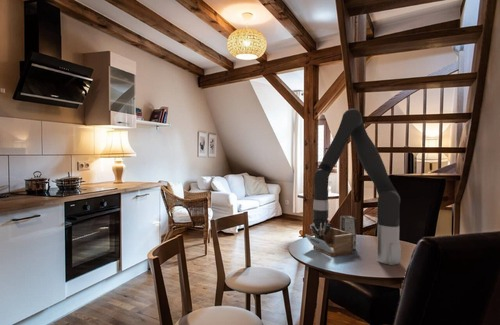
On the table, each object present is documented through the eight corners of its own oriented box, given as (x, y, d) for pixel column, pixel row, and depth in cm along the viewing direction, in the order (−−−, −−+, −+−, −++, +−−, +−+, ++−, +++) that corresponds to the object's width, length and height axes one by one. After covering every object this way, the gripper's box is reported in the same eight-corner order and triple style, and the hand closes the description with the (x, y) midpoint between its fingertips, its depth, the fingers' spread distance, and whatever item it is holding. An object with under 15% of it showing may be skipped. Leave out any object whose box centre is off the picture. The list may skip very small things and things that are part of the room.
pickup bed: (352, 254, 158) (353, 234, 158) (333, 257, 153) (334, 236, 152) (331, 245, 172) (331, 227, 172) (313, 248, 167) (313, 229, 167)
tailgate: (332, 251, 153) (324, 241, 150) (330, 254, 152) (322, 243, 150) (313, 243, 166) (306, 233, 164) (311, 246, 166) (303, 236, 163)
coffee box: (356, 249, 166) (357, 218, 166) (343, 249, 166) (344, 218, 166) (351, 244, 175) (351, 215, 175) (339, 244, 175) (340, 215, 175)
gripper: (314, 210, 152) (314, 246, 153) (336, 208, 158) (335, 243, 158) (305, 208, 159) (304, 242, 159) (326, 206, 165) (325, 239, 165)
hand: (320, 242), depth 159 cm, fingers closed
